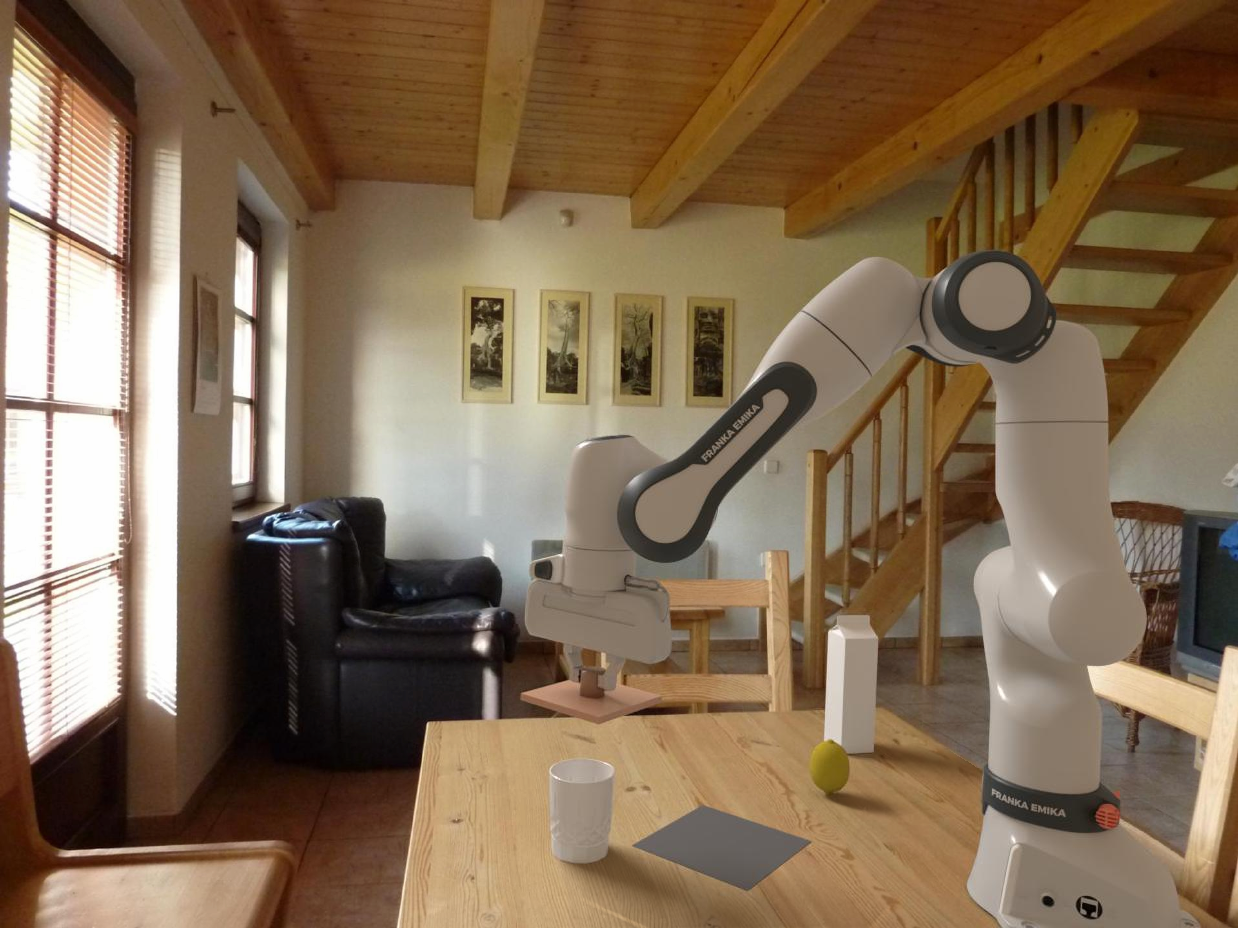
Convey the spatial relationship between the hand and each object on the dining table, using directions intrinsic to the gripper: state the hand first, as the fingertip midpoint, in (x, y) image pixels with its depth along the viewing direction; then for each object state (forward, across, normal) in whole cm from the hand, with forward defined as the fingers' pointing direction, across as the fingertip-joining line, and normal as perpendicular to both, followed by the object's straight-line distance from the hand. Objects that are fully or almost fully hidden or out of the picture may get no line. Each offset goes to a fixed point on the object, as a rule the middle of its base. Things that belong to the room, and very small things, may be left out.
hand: (592, 685), depth 104 cm
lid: (+2, 0, 0) cm, 2 cm away
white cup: (+20, 0, +1) cm, 20 cm away
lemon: (+20, -15, -36) cm, 44 cm away
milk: (+20, -9, -57) cm, 61 cm away
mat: (+20, -12, -12) cm, 26 cm away
